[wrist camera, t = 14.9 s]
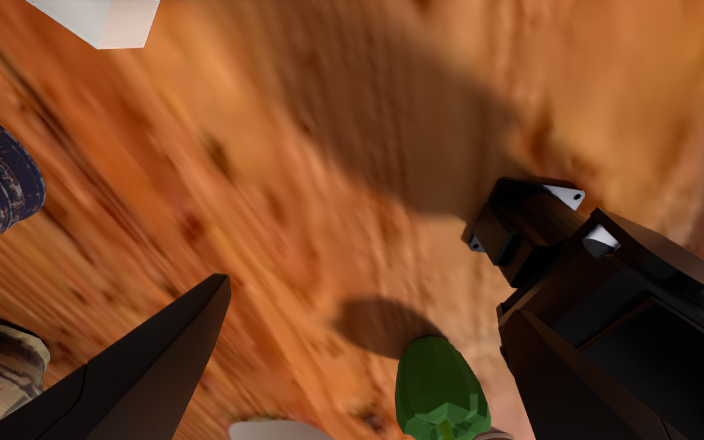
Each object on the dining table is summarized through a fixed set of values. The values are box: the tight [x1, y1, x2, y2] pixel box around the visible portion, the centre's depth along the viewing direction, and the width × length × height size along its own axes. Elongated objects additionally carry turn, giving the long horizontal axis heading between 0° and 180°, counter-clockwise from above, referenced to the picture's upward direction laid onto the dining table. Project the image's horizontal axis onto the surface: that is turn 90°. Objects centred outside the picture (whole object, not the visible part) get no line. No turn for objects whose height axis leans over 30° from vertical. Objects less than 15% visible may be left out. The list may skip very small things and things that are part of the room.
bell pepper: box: [395, 336, 491, 440], centre depth 28 cm, size 8×8×10 cm
